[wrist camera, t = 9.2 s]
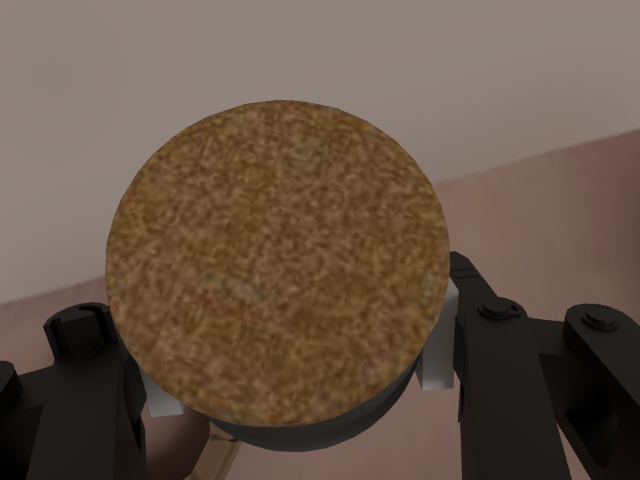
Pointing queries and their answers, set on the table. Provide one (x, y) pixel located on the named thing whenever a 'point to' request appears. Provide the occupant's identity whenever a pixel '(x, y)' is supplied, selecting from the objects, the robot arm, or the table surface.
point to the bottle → (279, 272)
